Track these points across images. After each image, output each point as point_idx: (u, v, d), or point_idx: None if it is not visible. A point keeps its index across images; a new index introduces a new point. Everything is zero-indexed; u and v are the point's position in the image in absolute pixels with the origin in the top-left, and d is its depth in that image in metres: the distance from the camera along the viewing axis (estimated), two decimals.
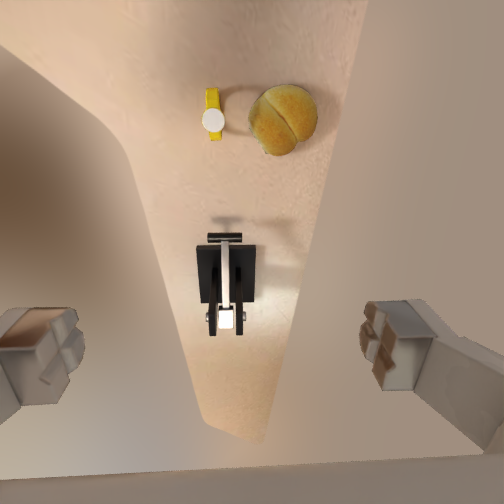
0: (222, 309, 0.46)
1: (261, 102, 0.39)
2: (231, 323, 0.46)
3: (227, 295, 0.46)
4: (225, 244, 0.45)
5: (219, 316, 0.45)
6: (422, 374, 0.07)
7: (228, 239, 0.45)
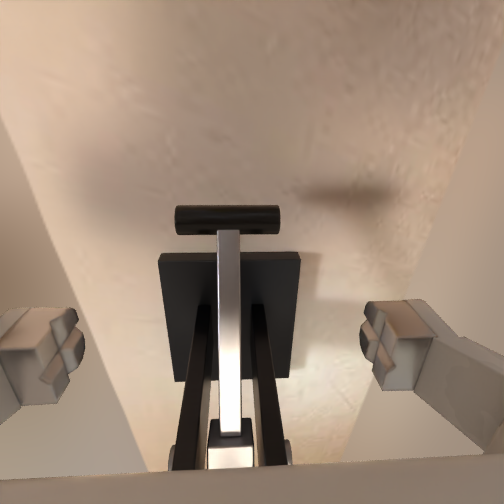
0: (220, 442, 0.15)
1: None
2: None
3: (235, 396, 0.15)
4: (229, 240, 0.15)
5: (210, 467, 0.14)
6: (422, 374, 0.07)
7: (239, 224, 0.15)
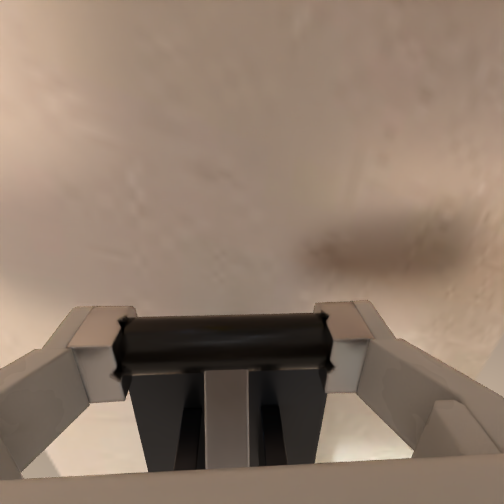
0: None
1: None
2: None
3: None
4: (229, 390, 0.08)
5: None
6: (362, 376, 0.07)
7: (247, 360, 0.07)
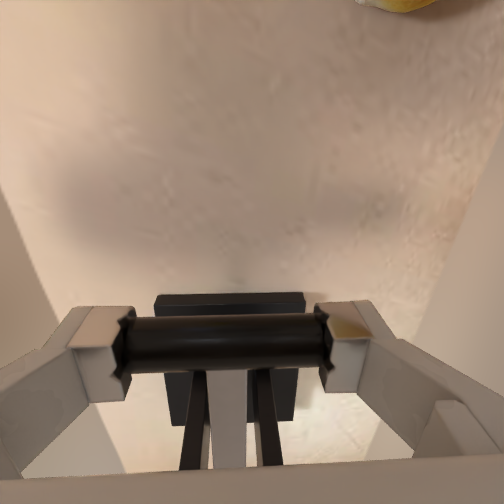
0: None
1: None
2: None
3: None
4: (230, 383, 0.08)
5: None
6: (363, 376, 0.07)
7: (246, 366, 0.08)
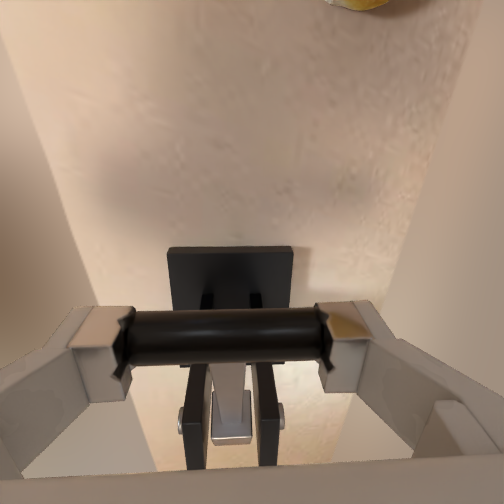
0: (222, 430, 0.16)
1: None
2: (246, 442, 0.18)
3: (236, 415, 0.15)
4: (230, 365, 0.09)
5: (214, 441, 0.17)
6: (362, 376, 0.07)
7: None
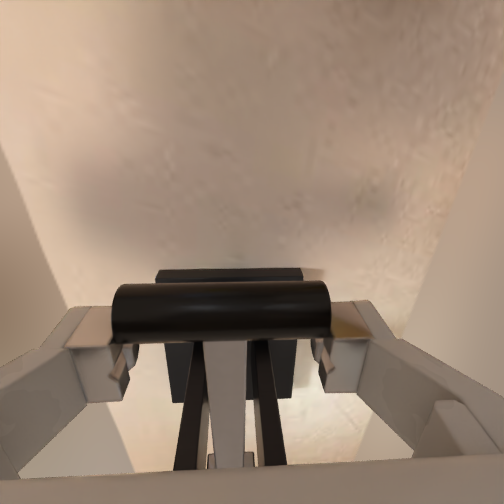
0: None
1: None
2: None
3: None
4: (228, 354, 0.08)
5: None
6: (362, 376, 0.07)
7: (246, 337, 0.07)
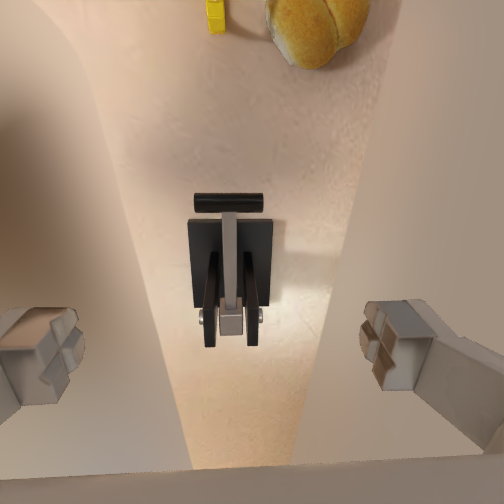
0: (225, 312, 0.28)
1: None
2: (239, 330, 0.29)
3: (233, 293, 0.27)
4: (230, 218, 0.23)
5: (220, 322, 0.28)
6: (422, 374, 0.07)
7: (236, 209, 0.22)
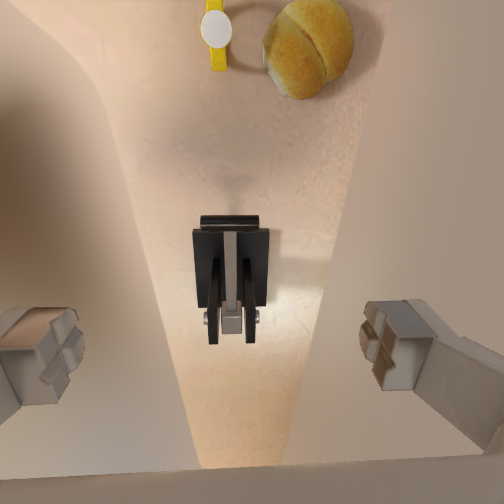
0: (226, 314, 0.32)
1: (280, 18, 0.29)
2: (239, 329, 0.33)
3: (233, 298, 0.32)
4: (230, 236, 0.27)
5: (222, 323, 0.33)
6: (422, 374, 0.07)
7: (236, 229, 0.27)
